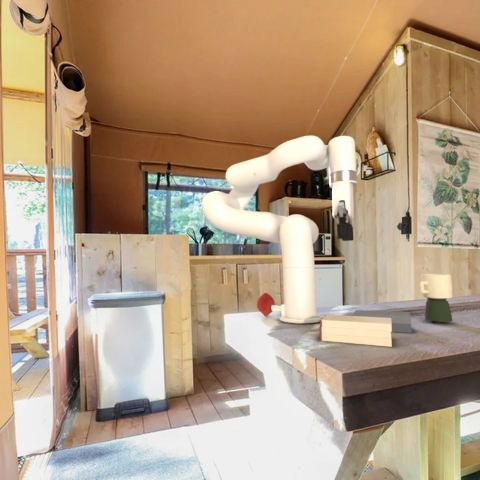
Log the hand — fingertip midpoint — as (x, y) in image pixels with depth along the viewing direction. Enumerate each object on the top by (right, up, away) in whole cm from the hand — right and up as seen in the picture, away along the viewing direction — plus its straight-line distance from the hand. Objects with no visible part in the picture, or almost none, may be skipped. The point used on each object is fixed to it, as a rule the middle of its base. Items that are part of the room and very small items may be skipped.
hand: (345, 239), depth 87 cm
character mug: (+24, -23, -4) cm, 33 cm away
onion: (-22, -25, +12) cm, 35 cm away
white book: (-4, -19, -19) cm, 28 cm away
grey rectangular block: (+6, -23, -10) cm, 25 cm away
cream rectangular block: (-5, -22, -20) cm, 30 cm away
